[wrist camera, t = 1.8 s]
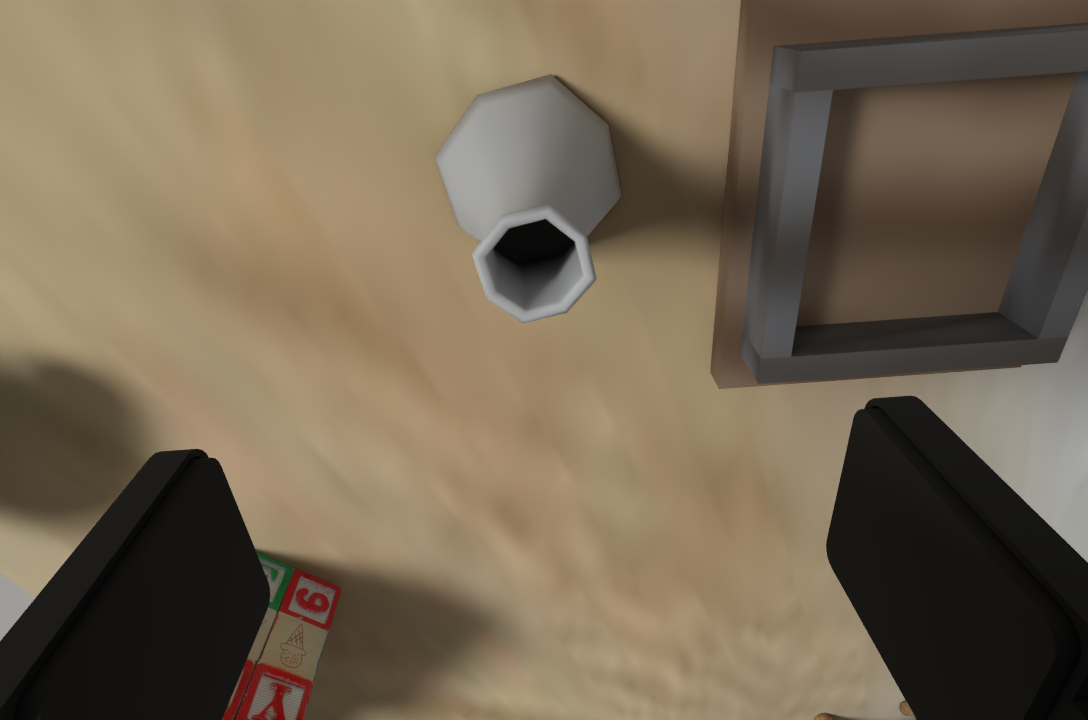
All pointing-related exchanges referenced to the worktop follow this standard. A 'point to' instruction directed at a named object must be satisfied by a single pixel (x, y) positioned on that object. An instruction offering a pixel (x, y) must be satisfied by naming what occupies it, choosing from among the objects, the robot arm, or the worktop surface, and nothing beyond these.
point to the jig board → (902, 189)
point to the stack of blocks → (285, 646)
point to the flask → (530, 193)
